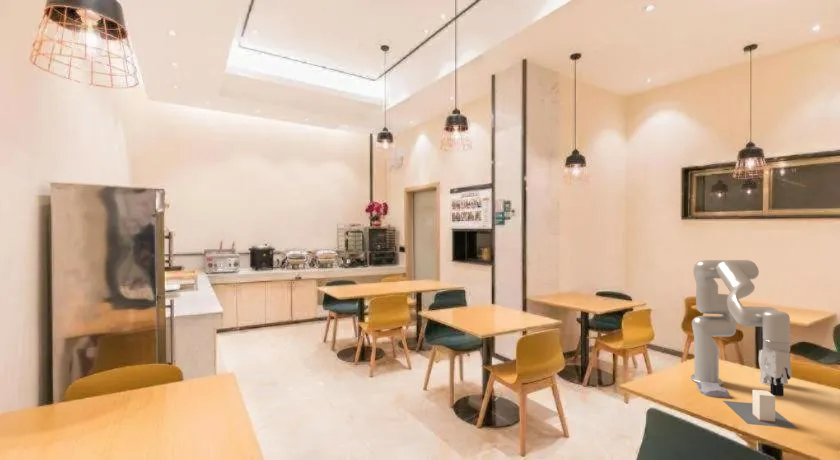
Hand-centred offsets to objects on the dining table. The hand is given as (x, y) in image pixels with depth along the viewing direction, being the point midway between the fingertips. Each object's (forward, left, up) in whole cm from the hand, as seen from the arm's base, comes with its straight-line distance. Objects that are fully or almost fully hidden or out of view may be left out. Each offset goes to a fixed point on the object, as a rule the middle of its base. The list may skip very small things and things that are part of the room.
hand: (777, 394), depth 146 cm
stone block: (-32, -9, -14) cm, 36 cm away
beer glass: (-50, +22, -14) cm, 57 cm away
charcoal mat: (-12, 0, -14) cm, 19 cm away
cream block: (-8, 0, -13) cm, 15 cm away
